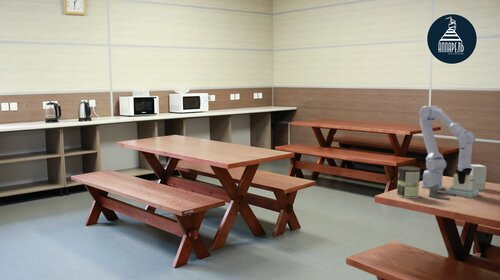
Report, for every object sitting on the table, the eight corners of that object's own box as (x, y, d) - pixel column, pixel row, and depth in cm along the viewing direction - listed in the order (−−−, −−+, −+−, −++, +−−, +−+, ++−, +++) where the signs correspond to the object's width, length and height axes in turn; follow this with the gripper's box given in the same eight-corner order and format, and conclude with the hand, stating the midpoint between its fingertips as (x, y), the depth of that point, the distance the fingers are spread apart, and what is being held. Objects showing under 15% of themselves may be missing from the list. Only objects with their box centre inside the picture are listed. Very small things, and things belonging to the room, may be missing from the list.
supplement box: (485, 190, 260) (487, 166, 259) (471, 189, 261) (473, 166, 259) (479, 187, 268) (481, 164, 266) (465, 186, 268) (467, 163, 266)
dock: (429, 196, 243) (429, 186, 243) (436, 192, 252) (437, 183, 251) (449, 200, 237) (450, 190, 237) (456, 196, 246) (457, 186, 245)
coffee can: (393, 196, 243) (395, 168, 242) (400, 192, 252) (402, 165, 250) (414, 199, 238) (416, 170, 236) (421, 195, 246) (423, 167, 244)
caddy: (452, 188, 250) (453, 174, 250) (455, 186, 254) (456, 173, 254) (471, 191, 245) (472, 177, 244) (474, 189, 249) (475, 176, 248)
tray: (445, 193, 251) (445, 189, 250) (451, 190, 258) (452, 186, 258) (473, 198, 242) (473, 193, 242) (478, 194, 250) (478, 190, 250)
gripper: (469, 159, 240) (467, 186, 242) (477, 155, 251) (475, 181, 253) (454, 157, 244) (452, 184, 246) (462, 154, 255) (460, 179, 257)
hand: (463, 182), depth 250 cm, fingers closed on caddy, 5 cm apart
